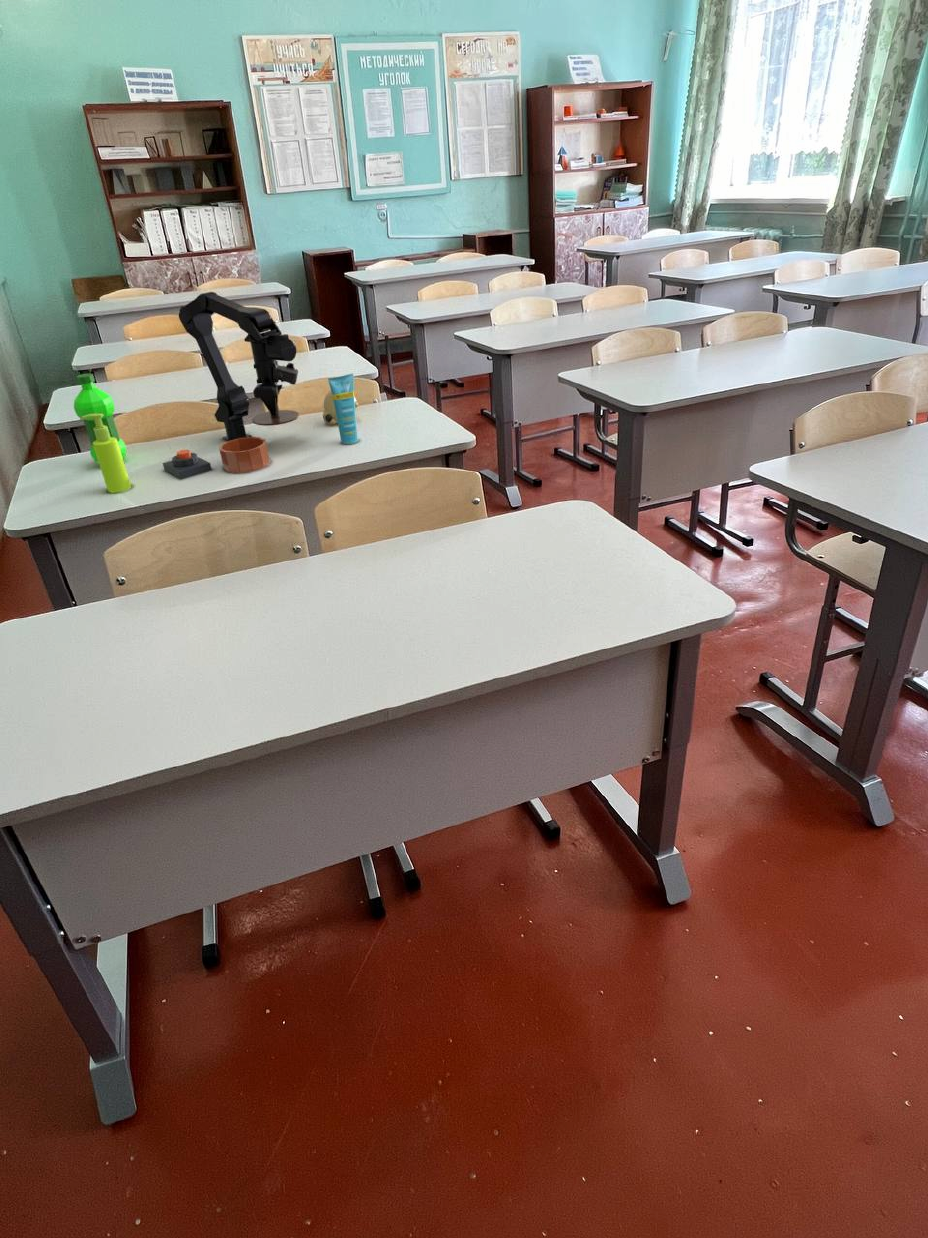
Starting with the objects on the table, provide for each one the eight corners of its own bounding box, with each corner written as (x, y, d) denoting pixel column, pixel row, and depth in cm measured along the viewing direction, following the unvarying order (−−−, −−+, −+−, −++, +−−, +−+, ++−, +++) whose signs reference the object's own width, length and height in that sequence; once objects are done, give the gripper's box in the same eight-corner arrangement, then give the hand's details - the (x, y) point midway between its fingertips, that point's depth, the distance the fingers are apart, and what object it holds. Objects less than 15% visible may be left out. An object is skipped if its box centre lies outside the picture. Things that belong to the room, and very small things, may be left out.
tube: (342, 446, 219) (331, 379, 209) (335, 442, 223) (324, 376, 213) (364, 440, 223) (356, 374, 213) (357, 437, 226) (348, 371, 216)
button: (175, 458, 209) (174, 452, 208) (188, 454, 211) (186, 448, 210) (181, 461, 206) (179, 454, 205) (193, 457, 208) (192, 451, 207)
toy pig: (341, 428, 246) (313, 409, 242) (362, 397, 243) (334, 378, 238) (343, 436, 238) (314, 417, 233) (365, 405, 235) (336, 384, 230)
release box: (164, 470, 212) (160, 456, 209) (194, 461, 216) (191, 448, 214) (181, 479, 204) (177, 465, 202) (211, 470, 209) (208, 456, 207)
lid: (244, 419, 220) (241, 405, 218) (284, 408, 227) (281, 395, 225) (267, 428, 211) (264, 414, 209) (308, 416, 219) (305, 402, 217)
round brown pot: (216, 466, 212) (211, 445, 208) (256, 454, 218) (251, 434, 215) (237, 476, 203) (232, 455, 200) (278, 463, 210) (273, 442, 207)
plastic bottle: (108, 471, 214) (79, 381, 201) (86, 466, 219) (56, 378, 206) (138, 459, 221) (112, 372, 208) (115, 454, 226) (88, 369, 213)
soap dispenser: (108, 486, 204) (84, 412, 193) (134, 483, 204) (111, 409, 193) (101, 494, 199) (75, 419, 188) (127, 491, 199) (104, 416, 188)
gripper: (289, 363, 203) (299, 421, 211) (296, 348, 219) (305, 402, 227) (247, 367, 202) (259, 424, 211) (257, 351, 218) (268, 405, 227)
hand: (274, 413), depth 219 cm, fingers closed on lid, 3 cm apart
